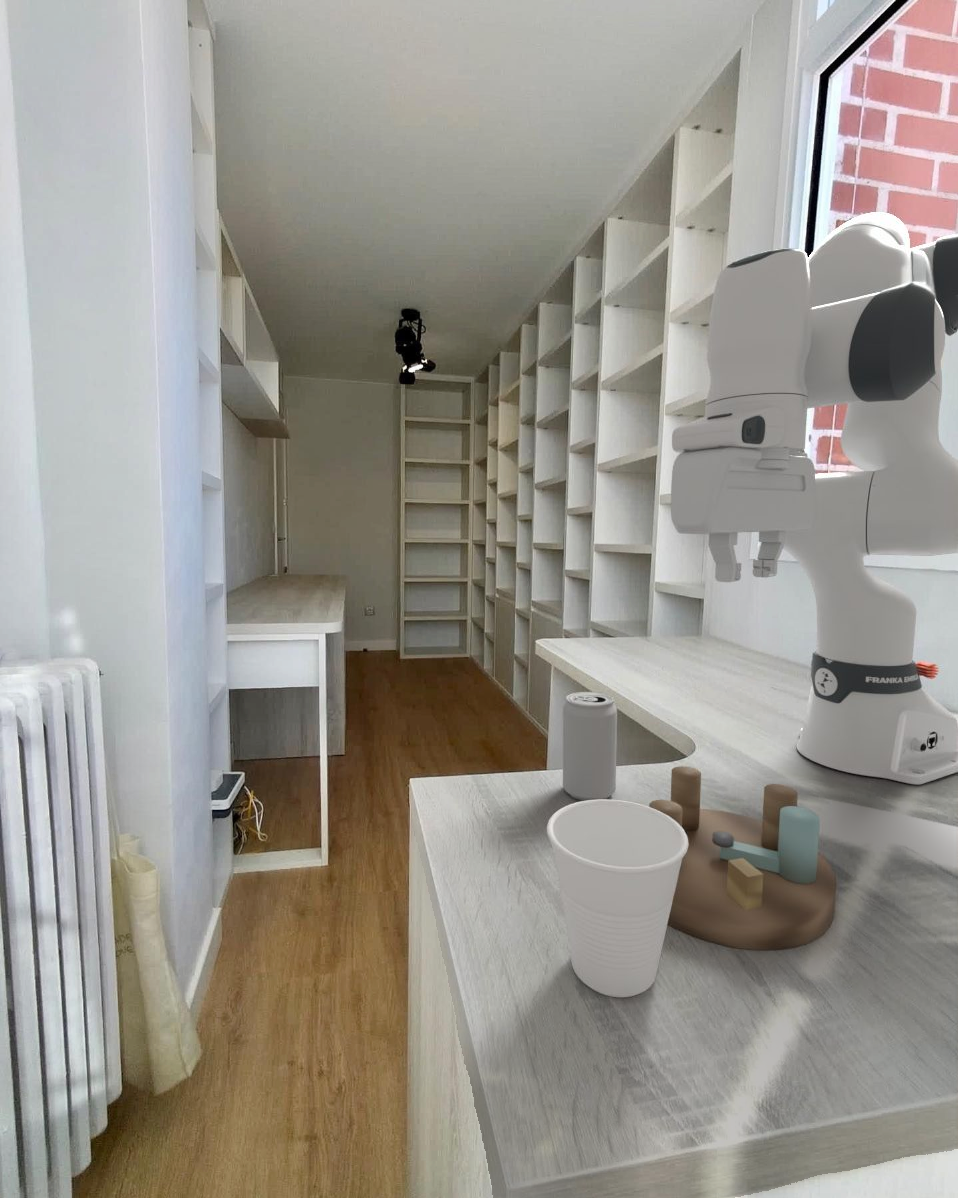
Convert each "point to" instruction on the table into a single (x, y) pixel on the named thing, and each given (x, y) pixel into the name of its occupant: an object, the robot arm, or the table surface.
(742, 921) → the stool seat
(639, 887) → the cup
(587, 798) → the beverage can
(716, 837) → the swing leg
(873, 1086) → the table surface
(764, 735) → the table surface
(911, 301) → the robot arm
